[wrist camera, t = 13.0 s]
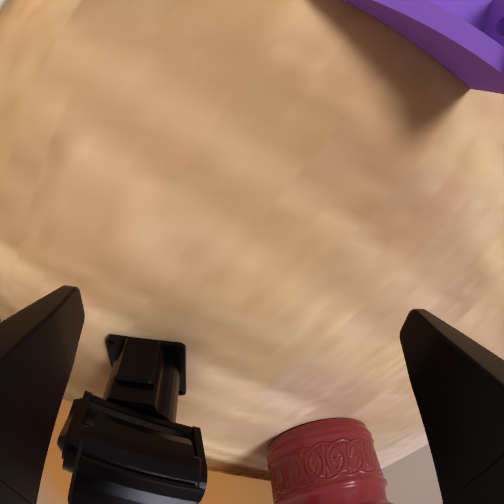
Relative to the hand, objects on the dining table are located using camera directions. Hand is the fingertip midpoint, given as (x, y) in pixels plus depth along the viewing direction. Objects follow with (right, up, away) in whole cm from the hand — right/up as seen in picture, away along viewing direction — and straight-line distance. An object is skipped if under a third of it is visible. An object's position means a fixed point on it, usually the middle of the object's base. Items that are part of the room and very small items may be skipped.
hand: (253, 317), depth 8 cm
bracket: (+11, +18, +6) cm, 21 cm away
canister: (+8, -22, +26) cm, 35 cm away
